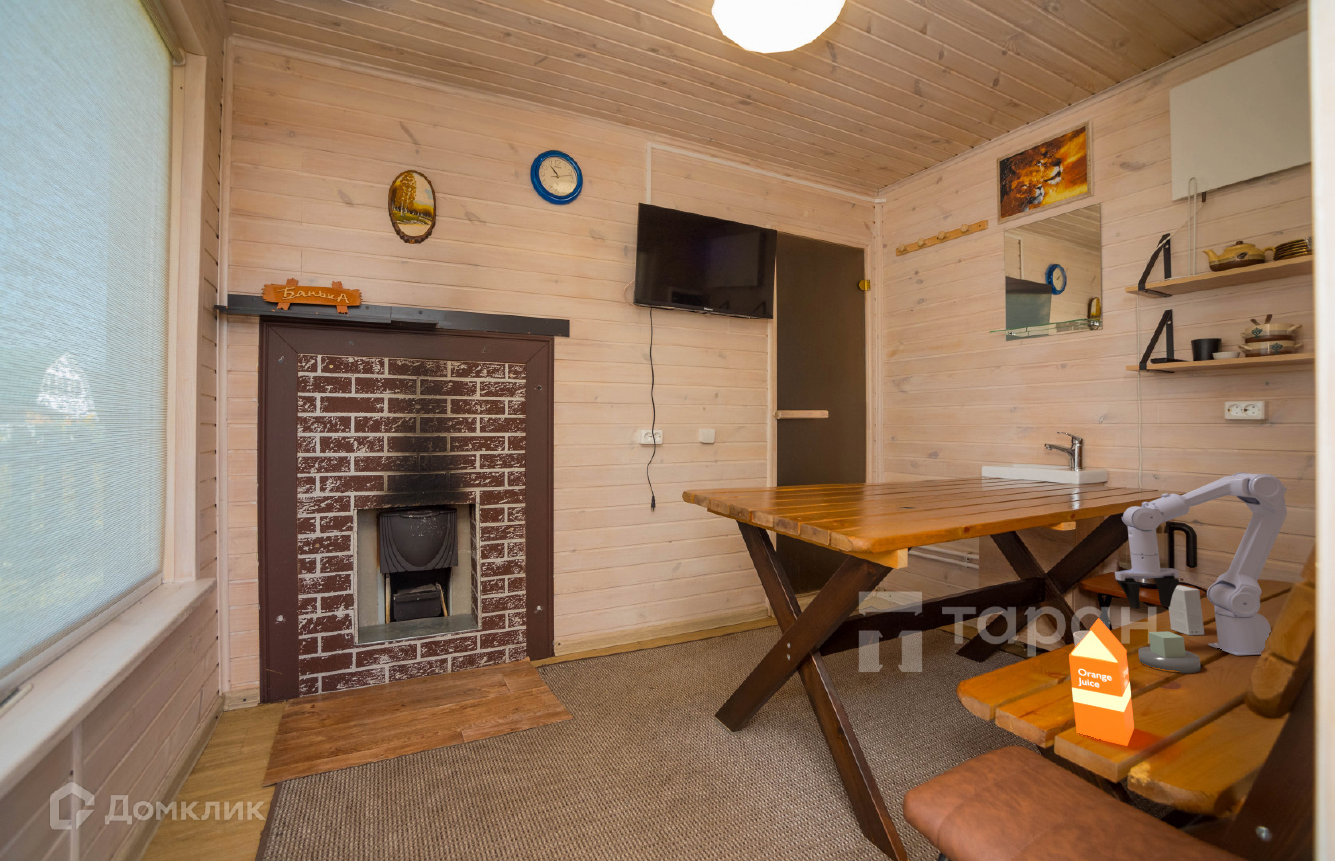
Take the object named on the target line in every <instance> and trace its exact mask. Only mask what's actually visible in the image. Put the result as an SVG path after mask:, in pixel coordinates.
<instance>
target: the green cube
mask: <svg viewBox="0 0 1335 861" xmlns="http://www.w3.org/2000/svg"><path fill="white" fill-rule="evenodd" d="M1148 639H1149V646H1150V649H1151V651H1152V652H1154V653H1156V654H1158V655H1161V656H1163V657H1165V658H1167V657H1186V654H1185V651H1186V647H1185V640H1184V639H1185V638H1184V636H1183V635H1182V636H1181V635H1180V634H1176V633H1174V632H1171V631H1169V630H1168V631H1151V632H1150V631H1149V632H1148Z"/></svg>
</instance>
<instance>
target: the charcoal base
mask: <svg viewBox="0 0 1335 861" xmlns="http://www.w3.org/2000/svg"><path fill="white" fill-rule="evenodd" d="M1185 654H1186V657H1167V658H1165V657H1163V656H1161V655H1158V654H1156V653H1154V652H1152V651H1151V649H1150V645H1149V646H1143V647H1140V648H1138V659H1139V660H1140V661H1139V663H1140V662H1141V663H1143V664H1146V665H1148V666H1151V667H1155V668H1160V669H1165V670H1175V671H1180V672H1182V673H1181V674H1195V673H1198V672H1200V671H1201V670H1202V668H1201V658H1200V656H1199V655H1198V654H1196V653H1193V652H1191V651H1189V650H1185ZM1141 663H1140V664H1141ZM1143 664H1142V665H1143Z"/></svg>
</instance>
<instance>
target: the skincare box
mask: <svg viewBox="0 0 1335 861" xmlns="http://www.w3.org/2000/svg"><path fill="white" fill-rule="evenodd" d="M1168 613H1169V615H1168V616H1169V622H1170V630H1173V631H1175V632H1178V633H1181V634H1185V635H1187V636H1200V635H1201V636H1202V635H1205V628H1204V619H1203V610H1202V603H1201V594H1200V589H1197V588H1193V587H1189V586H1185V585H1179V584H1178V585H1177V587H1176V588H1175V590H1174V592H1173V595H1172V599H1171V604H1170V607H1168Z"/></svg>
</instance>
